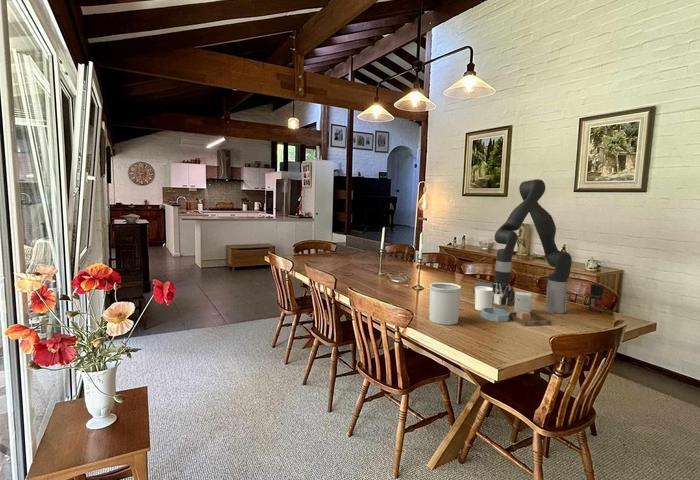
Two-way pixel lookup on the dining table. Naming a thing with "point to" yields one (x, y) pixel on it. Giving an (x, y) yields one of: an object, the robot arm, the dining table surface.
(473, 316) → the dining table surface
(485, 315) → the ceramic bowl
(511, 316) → the walnut tray
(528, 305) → the small box
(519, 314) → the tan cube
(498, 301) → the off-white cube
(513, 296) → the bluetooth speaker
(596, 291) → the deodorant
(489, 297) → the candle holder
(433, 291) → the utensil holder
